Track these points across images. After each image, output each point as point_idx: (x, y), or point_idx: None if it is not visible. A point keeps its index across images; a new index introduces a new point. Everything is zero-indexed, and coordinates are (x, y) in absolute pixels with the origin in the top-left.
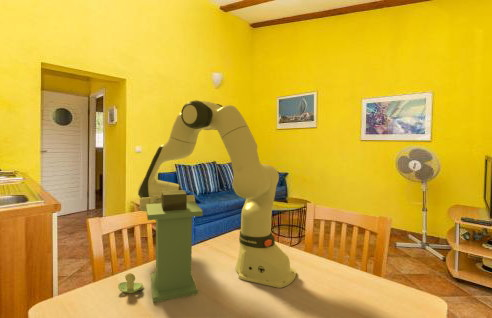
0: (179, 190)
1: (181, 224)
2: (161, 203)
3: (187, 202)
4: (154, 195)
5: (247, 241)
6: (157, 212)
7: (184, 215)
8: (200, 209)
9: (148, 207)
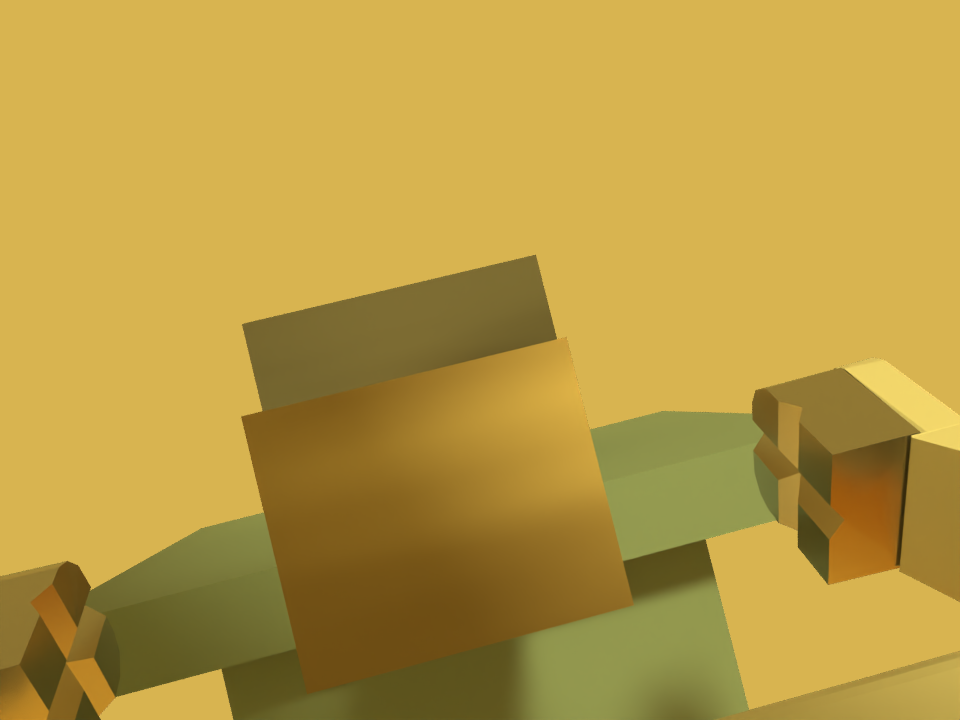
0: (305, 311)
1: None
2: (610, 477)
3: (174, 585)
4: (854, 363)
5: None
6: (596, 432)
7: None
8: (194, 534)
9: (741, 419)
